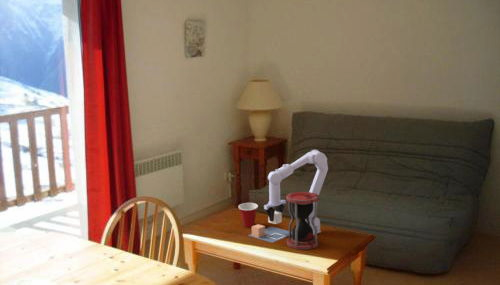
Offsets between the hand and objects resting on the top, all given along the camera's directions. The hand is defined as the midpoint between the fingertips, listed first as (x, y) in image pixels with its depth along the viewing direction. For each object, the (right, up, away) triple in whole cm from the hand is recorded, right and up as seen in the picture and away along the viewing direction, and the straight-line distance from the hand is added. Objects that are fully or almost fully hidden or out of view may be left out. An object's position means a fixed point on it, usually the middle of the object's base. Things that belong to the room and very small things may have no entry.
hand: (275, 219), depth 293 cm
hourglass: (+13, -11, -12) cm, 21 cm away
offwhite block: (0, -1, 0) cm, 1 cm away
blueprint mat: (-2, -8, +2) cm, 9 cm away
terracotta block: (-9, -8, +1) cm, 12 cm away
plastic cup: (-14, -6, +17) cm, 23 cm away
